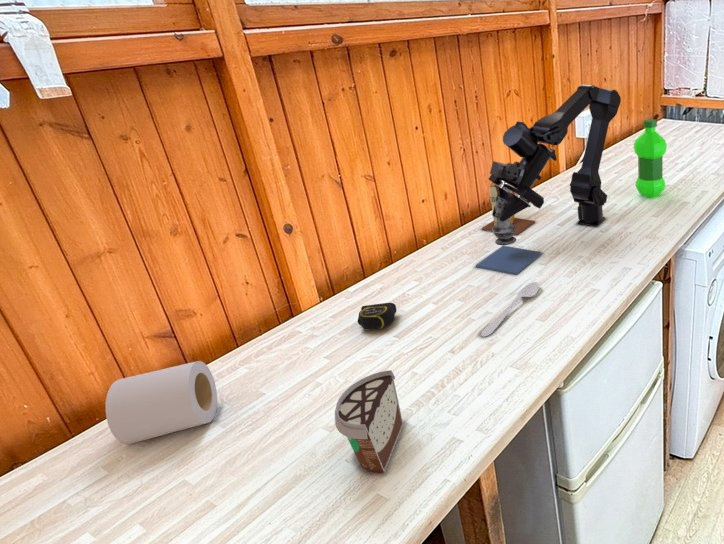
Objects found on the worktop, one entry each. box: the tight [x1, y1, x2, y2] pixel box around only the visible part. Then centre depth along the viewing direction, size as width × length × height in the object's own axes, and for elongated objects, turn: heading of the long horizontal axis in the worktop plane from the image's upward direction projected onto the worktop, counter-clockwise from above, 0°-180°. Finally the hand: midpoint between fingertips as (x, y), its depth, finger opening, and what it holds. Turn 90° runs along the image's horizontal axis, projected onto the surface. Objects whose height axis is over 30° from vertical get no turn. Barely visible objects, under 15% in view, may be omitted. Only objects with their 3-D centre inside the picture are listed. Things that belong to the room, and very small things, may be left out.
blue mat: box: [475, 245, 542, 276], centre depth 133 cm, size 12×12×1 cm
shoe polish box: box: [488, 182, 516, 226], centre depth 153 cm, size 5×5×12 cm
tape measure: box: [357, 302, 397, 331], centre depth 108 cm, size 7×7×4 cm
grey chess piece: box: [491, 197, 517, 247], centre depth 129 cm, size 6×6×12 cm
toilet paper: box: [105, 360, 218, 445], centre depth 82 cm, size 10×10×10 cm
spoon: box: [480, 281, 540, 338], centre depth 111 cm, size 4×21×2 cm, turn 157°
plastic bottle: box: [633, 118, 668, 199], centre depth 169 cm, size 10×10×25 cm
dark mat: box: [481, 217, 536, 236], centre depth 154 cm, size 12×10×1 cm
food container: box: [334, 369, 404, 474], centre depth 76 cm, size 12×6×10 cm, turn 5°
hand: (497, 218), depth 128 cm, fingers closed on grey chess piece, 3 cm apart
